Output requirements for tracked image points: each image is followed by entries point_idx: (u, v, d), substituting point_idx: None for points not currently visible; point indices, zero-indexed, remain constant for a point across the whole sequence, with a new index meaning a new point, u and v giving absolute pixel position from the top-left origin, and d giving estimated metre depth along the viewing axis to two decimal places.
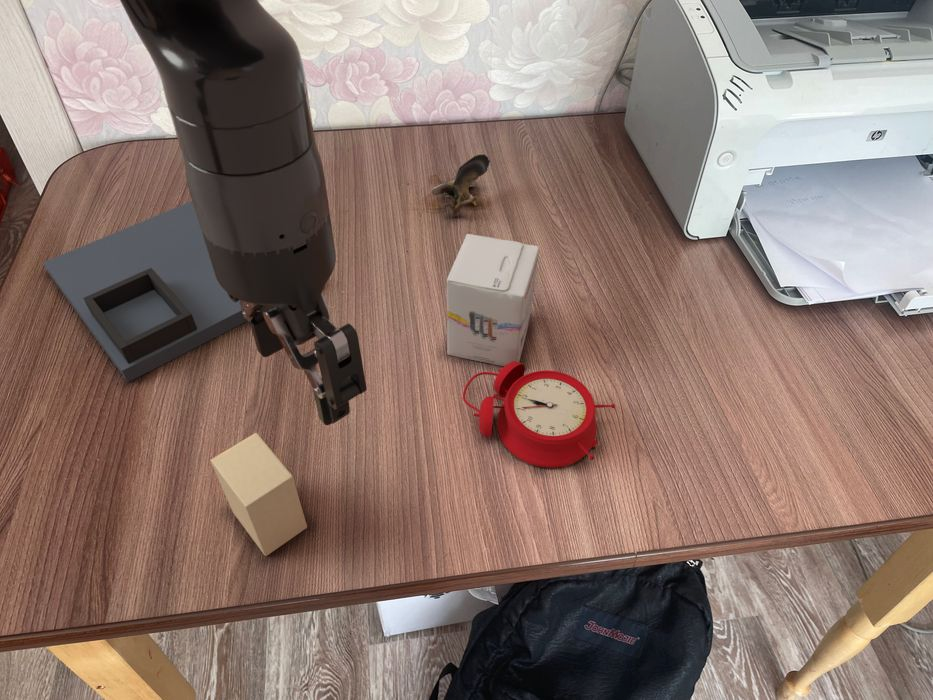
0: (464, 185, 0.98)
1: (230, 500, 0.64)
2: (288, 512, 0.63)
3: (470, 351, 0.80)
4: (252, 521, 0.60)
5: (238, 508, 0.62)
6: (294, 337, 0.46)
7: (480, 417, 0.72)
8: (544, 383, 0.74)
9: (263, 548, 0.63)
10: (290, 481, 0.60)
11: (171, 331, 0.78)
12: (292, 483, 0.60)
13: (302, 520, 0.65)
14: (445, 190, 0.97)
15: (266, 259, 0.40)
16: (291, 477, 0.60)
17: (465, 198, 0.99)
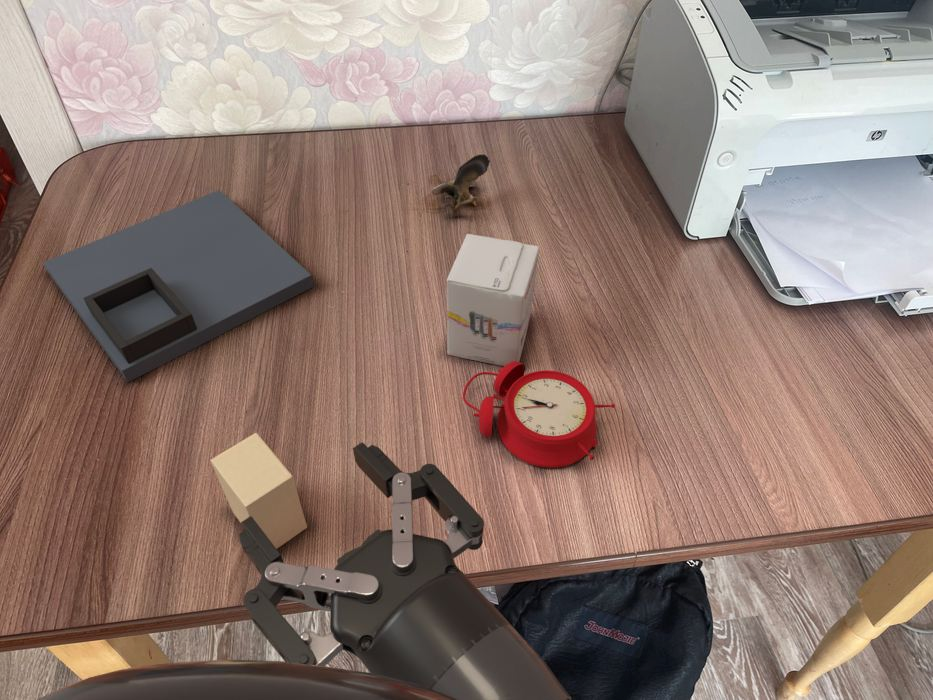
0: (464, 185, 0.98)
1: (230, 500, 0.64)
2: (288, 512, 0.63)
3: (470, 351, 0.80)
4: None
5: (238, 508, 0.62)
6: (338, 594, 0.41)
7: (480, 417, 0.72)
8: (544, 383, 0.74)
9: None
10: (290, 481, 0.60)
11: (171, 331, 0.78)
12: (292, 483, 0.60)
13: (302, 520, 0.65)
14: (445, 190, 0.97)
15: None
16: (291, 477, 0.60)
17: (465, 198, 0.99)
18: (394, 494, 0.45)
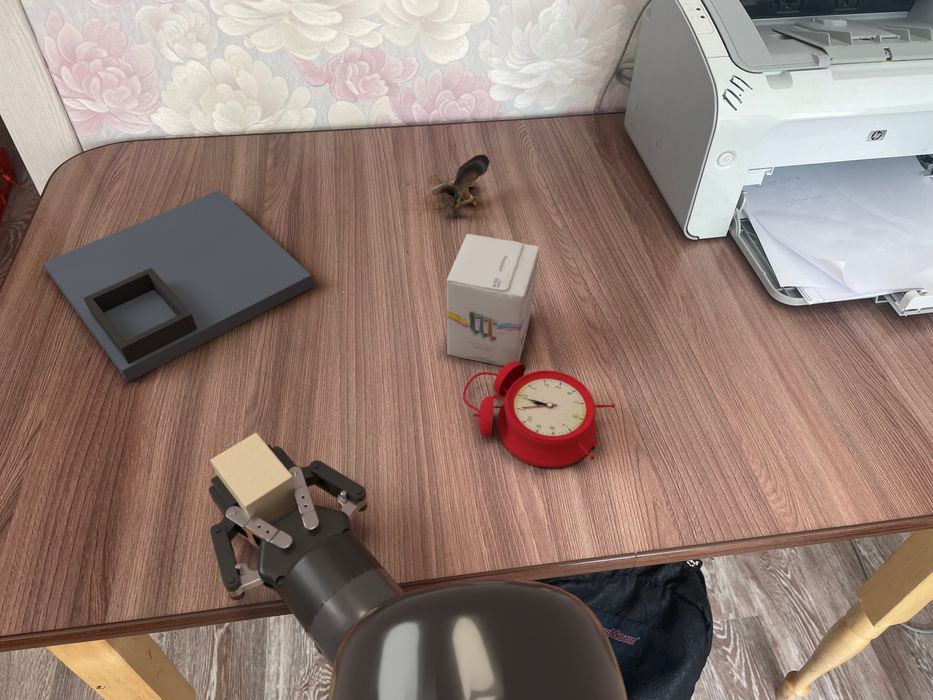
0: (464, 185, 0.98)
1: None
2: None
3: (470, 351, 0.80)
4: None
5: None
6: (264, 548, 0.57)
7: (480, 417, 0.72)
8: (544, 383, 0.74)
9: None
10: (290, 481, 0.60)
11: (171, 331, 0.78)
12: (292, 483, 0.60)
13: None
14: (445, 190, 0.97)
15: (308, 616, 0.53)
16: (291, 477, 0.60)
17: (465, 198, 0.99)
18: None
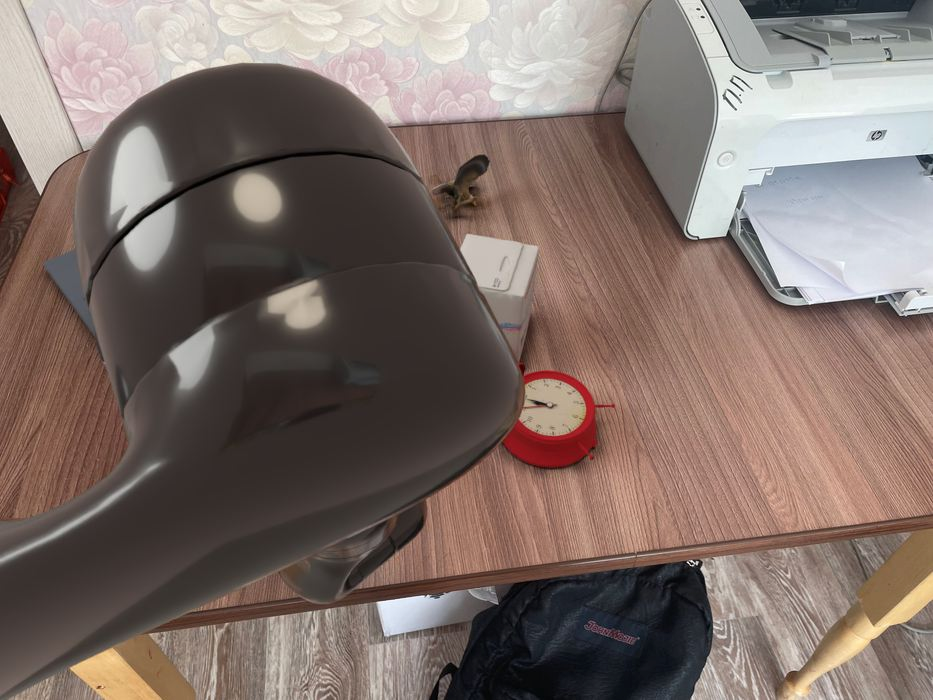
0: (464, 185, 0.98)
1: None
2: None
3: None
4: None
5: None
6: None
7: None
8: (544, 383, 0.74)
9: None
10: None
11: None
12: None
13: None
14: (445, 190, 0.97)
15: None
16: None
17: (465, 198, 0.99)
18: None
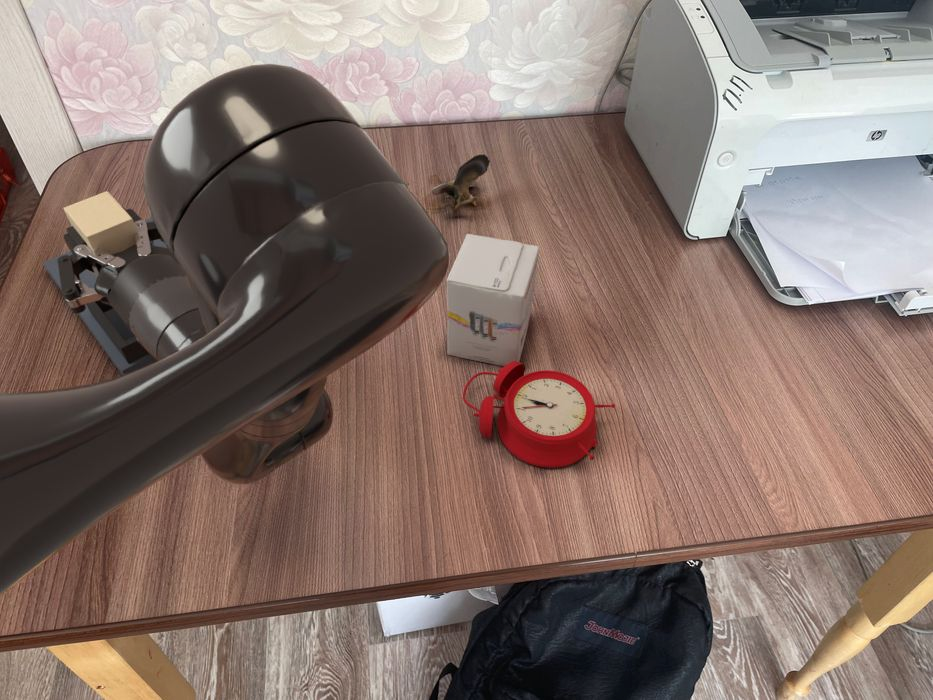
0: (464, 185, 0.98)
1: None
2: None
3: (470, 351, 0.80)
4: None
5: None
6: (102, 271, 0.67)
7: (480, 417, 0.72)
8: (544, 383, 0.74)
9: None
10: (130, 223, 0.69)
11: None
12: (133, 226, 0.70)
13: None
14: (445, 190, 0.97)
15: (127, 309, 0.62)
16: (131, 219, 0.69)
17: (465, 198, 0.99)
18: None
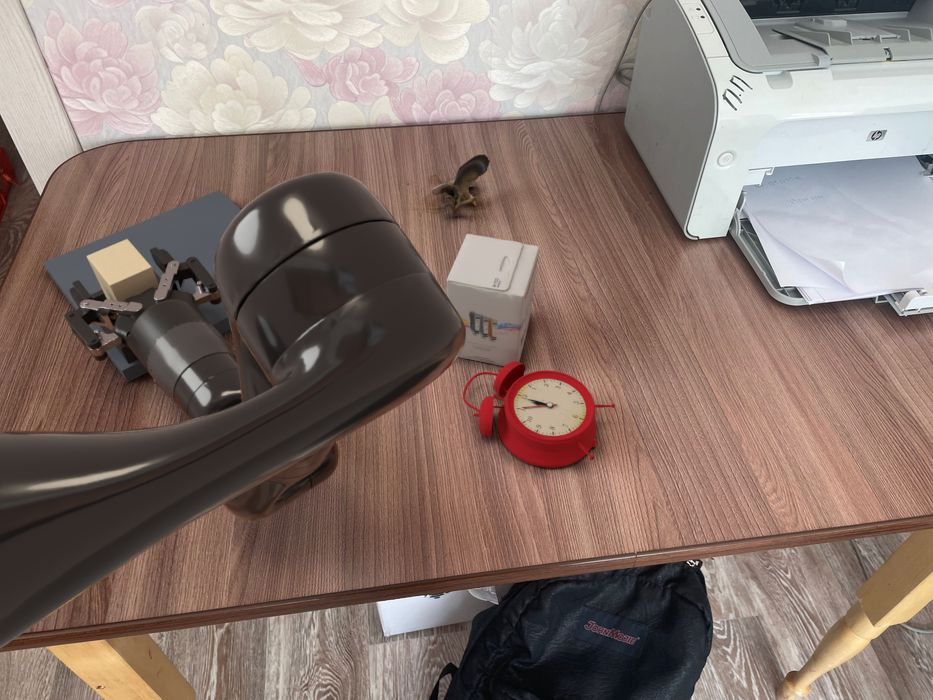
0: (464, 185, 0.98)
1: (107, 297, 0.78)
2: None
3: (470, 351, 0.80)
4: None
5: (111, 299, 0.76)
6: (120, 314, 0.71)
7: (480, 417, 0.72)
8: (544, 383, 0.74)
9: None
10: (150, 271, 0.74)
11: None
12: (152, 274, 0.74)
13: None
14: (445, 190, 0.97)
15: (145, 353, 0.67)
16: (150, 267, 0.74)
17: (465, 198, 0.99)
18: (166, 270, 0.75)
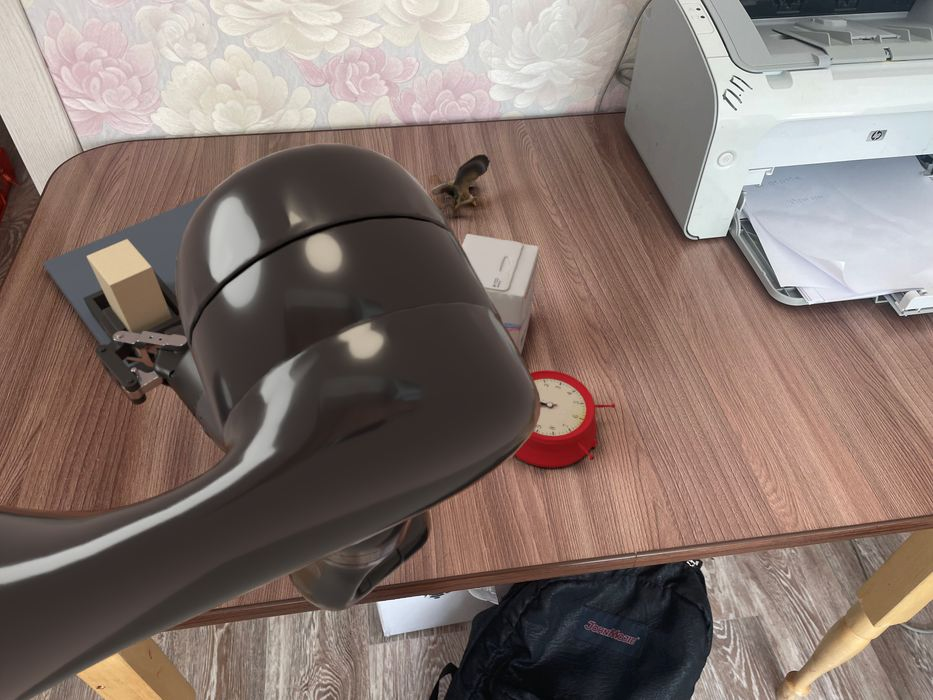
0: (464, 185, 0.98)
1: (107, 297, 0.78)
2: (153, 303, 0.77)
3: None
4: (118, 302, 0.74)
5: (111, 299, 0.76)
6: (161, 348, 0.60)
7: None
8: (544, 383, 0.74)
9: None
10: (150, 271, 0.74)
11: None
12: (152, 274, 0.74)
13: (169, 317, 0.79)
14: (445, 190, 0.97)
15: (194, 398, 0.56)
16: (150, 267, 0.74)
17: (465, 198, 0.99)
18: None
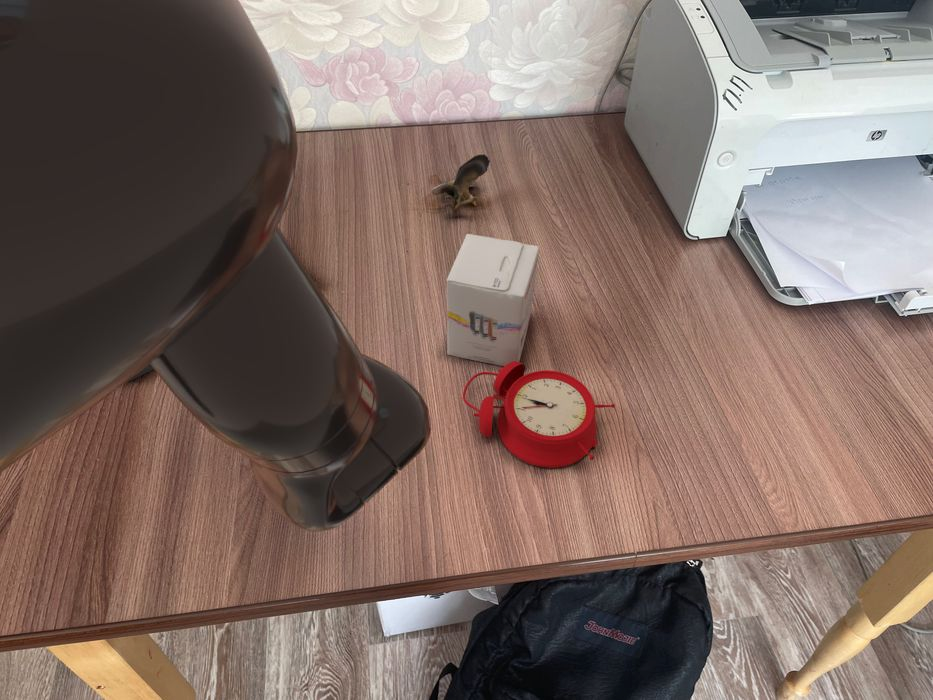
0: (464, 185, 0.98)
1: None
2: None
3: (470, 351, 0.80)
4: None
5: None
6: None
7: (480, 417, 0.72)
8: (544, 383, 0.74)
9: None
10: None
11: None
12: None
13: None
14: (445, 190, 0.97)
15: None
16: None
17: (465, 198, 0.99)
18: None
